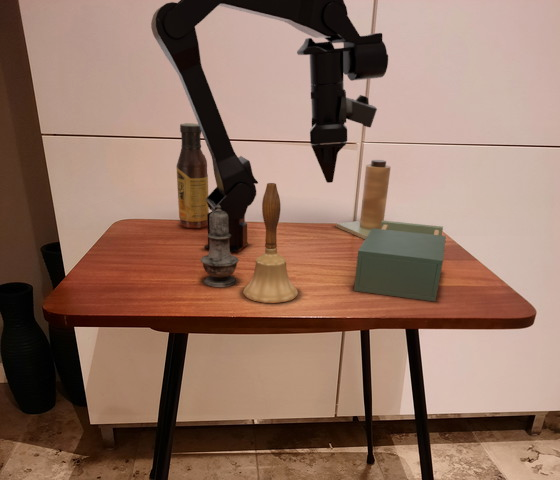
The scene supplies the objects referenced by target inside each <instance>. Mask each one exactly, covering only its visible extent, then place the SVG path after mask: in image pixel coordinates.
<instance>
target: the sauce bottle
mask: <svg viewBox="0 0 560 480" xmlns="http://www.w3.org/2000/svg"><path fill="white" fill-rule="evenodd" d="M179 132H180V135H181V137H180V138H181V145H180V146H181V149H180V152H179V156H178V159H177V164H176V183H177V202H178V204H177V205H178V218H179V224H180V225H181V227H183V228H185V229H204V228H206V227H208V226H207V214H208V213H210V212H209V211H210V209H209V207H208V204H207V202H206V198H207V197H208V196H209V175H208V174H209V173H208V160H207V157H206V155H205V154H204V153H203V150H202V149H201V148H202V143H201V142H202V140H201V135H202V132H201V129H200V127H199V124H198V123H193V122H191V123H190V122H186V123H181V124H180V125H179Z"/></svg>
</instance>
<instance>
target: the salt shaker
mask: <svg viewBox="0 0 560 480" xmlns="http://www.w3.org/2000/svg"><path fill="white" fill-rule="evenodd" d="M220 208H221V207H220V205H219V204H218V205H217V210H215V211H213V212H212V211H210V212H211V214H210V216H209V225H210V233H209V234H208V233H207V234H206V236H207V238H208V237H209V242H210V249H209V250H208V254H207V255H204V256H202V257H201V259H200V262H201V263H202V267H203V270H204V272H205V273H207V274H208V275H207V276H206V277H205V278H203V280H202V281H203V284H204V285H206V286H209V287H213V288H228V287H232V286H235V285H237V283H238V280H237V278H235V277H234V276H232V275H233V274H234V273H235V271H236V269H237V266H238V263H239V257H237V256H236V255H233V254H231V253H232V252H230V249H229V238H230V237H231V234H229V218H228V214H227V213H226V212H224V211H222V210H221V209H220Z"/></svg>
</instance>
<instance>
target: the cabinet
mask: <svg viewBox="0 0 560 480" xmlns="http://www.w3.org/2000/svg"><path fill="white" fill-rule="evenodd" d="M446 238H447V236H446V235H442V236H441V235H431V234H422V233H412V232H403V231H393V230H384V229H375V228H372V229H371V231H370V232H369V234H368V236H367V237H366V239H364V240H363V242H362V243H361V245H360V247H359V249H358V251H357V260H356V268H355V276H354V287H353V291H354V292H361V293H366V294H367V293H368V294H374V295H382V296H390V297H397V298H404V299H412V300H420V301H426V302H427V301H428V302H433V303H434V302H435V303H436V301H437V296H438V290H439V284H440V279H441V273H442V269H443V264H444V256H445V247H446Z"/></svg>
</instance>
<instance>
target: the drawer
mask: <svg viewBox="0 0 560 480" xmlns="http://www.w3.org/2000/svg"><path fill="white" fill-rule="evenodd" d="M381 229H384V230H393V231H403V232H412V233H422V234H431V235H441V236H443V231H444V226H443V225H442V226H441V225H433V224H432V225H431V224H421V223H413V222H402V221H391V220H384V221H383V220H382V222H381Z"/></svg>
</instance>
